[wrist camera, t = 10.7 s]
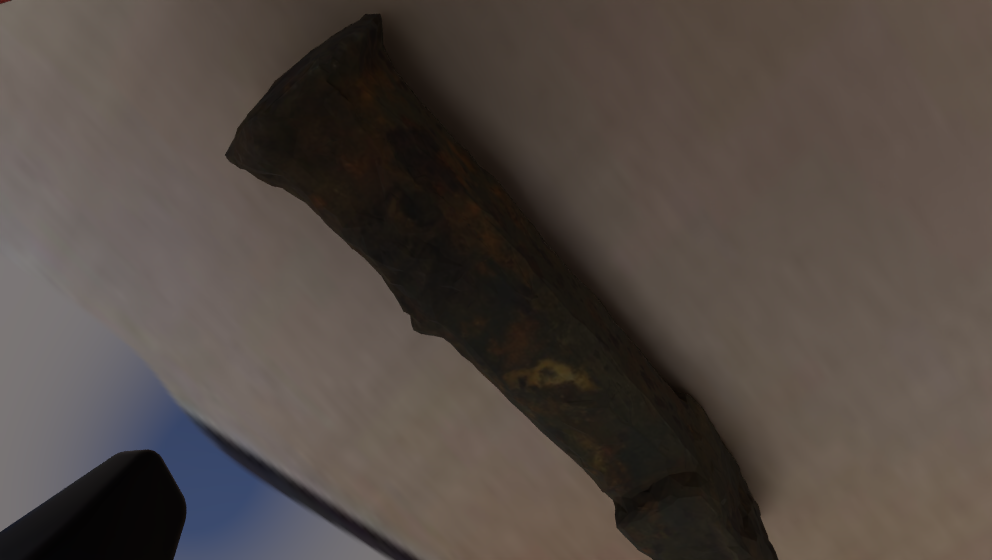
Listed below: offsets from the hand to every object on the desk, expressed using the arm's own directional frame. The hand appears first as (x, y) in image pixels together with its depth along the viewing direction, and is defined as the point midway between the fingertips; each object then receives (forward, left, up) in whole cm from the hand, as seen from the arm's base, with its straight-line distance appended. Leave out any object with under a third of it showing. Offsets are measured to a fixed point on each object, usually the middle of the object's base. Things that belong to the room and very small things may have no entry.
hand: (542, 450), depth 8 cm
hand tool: (+1, +6, -12) cm, 13 cm away
